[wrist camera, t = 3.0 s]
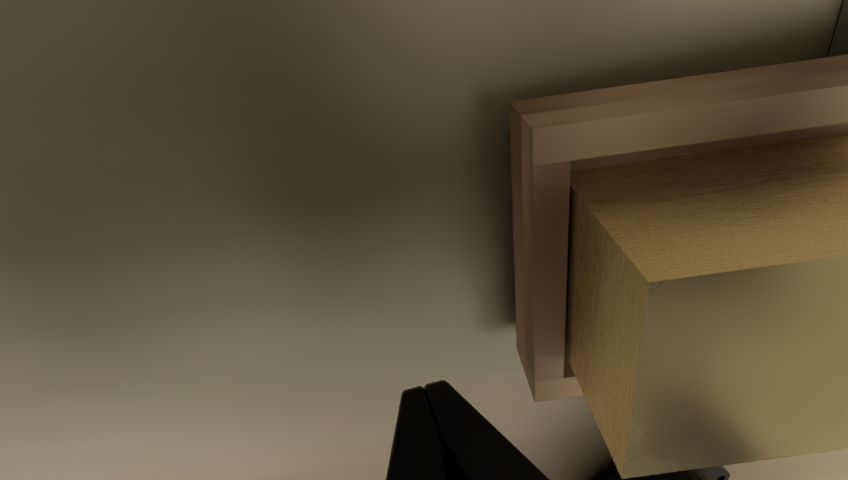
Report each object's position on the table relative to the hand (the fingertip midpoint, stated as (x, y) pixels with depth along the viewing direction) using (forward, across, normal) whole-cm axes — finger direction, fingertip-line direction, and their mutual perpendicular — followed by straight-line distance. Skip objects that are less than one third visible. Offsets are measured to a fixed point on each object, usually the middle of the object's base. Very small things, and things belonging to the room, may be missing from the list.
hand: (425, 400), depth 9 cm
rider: (+3, -8, 0) cm, 8 cm away
